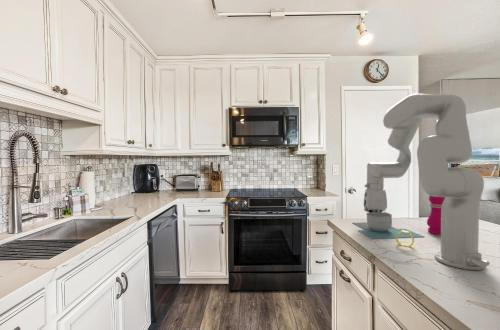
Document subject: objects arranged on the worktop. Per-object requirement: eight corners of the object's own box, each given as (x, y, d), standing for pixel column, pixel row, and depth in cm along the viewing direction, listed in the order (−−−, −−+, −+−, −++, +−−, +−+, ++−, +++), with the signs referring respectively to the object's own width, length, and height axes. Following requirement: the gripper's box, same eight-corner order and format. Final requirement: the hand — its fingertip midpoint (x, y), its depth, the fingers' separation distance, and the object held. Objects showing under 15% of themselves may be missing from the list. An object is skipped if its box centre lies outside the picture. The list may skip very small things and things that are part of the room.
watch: (413, 247, 97) (415, 232, 96) (412, 249, 94) (414, 234, 94) (395, 242, 100) (397, 228, 100) (394, 244, 98) (396, 230, 98)
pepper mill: (439, 230, 116) (440, 188, 116) (450, 235, 109) (451, 191, 109) (423, 230, 117) (423, 188, 117) (433, 235, 110) (433, 190, 109)
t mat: (424, 237, 107) (424, 236, 107) (372, 238, 105) (372, 238, 105) (388, 222, 132) (388, 221, 132) (345, 223, 130) (345, 223, 130)
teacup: (382, 234, 110) (382, 217, 110) (361, 228, 120) (361, 212, 119) (400, 230, 117) (401, 213, 116) (379, 224, 126) (379, 209, 126)
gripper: (364, 187, 119) (364, 225, 120) (394, 187, 120) (393, 224, 121) (356, 186, 127) (356, 221, 127) (384, 185, 128) (383, 220, 129)
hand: (374, 222), depth 124 cm, fingers closed
